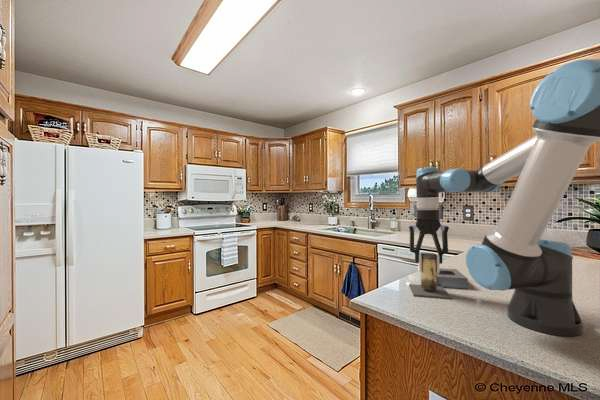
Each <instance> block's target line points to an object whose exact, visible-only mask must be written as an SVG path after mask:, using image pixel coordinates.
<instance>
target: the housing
mask: <svg viewBox="0 0 600 400" xmlns="http://www.w3.org/2000/svg"><path fill="white" fill-rule="evenodd" d="M439 271H440V273H437V272H436V278H437V286H442V287H443V288H448V289H463V290H468V289H469V285H468V283H469V281H468V280H469V279H468V277H466V276H465V275H464V274H463V273H462V272H460V271H459V270H457V268H456V269H455V268H443V267H442V268H441V267H439Z"/></svg>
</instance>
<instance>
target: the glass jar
mask: <svg viewBox="0 0 600 400" xmlns="http://www.w3.org/2000/svg"><path fill="white" fill-rule="evenodd" d="M420 254H421V267H422V272H420V285H421V287H422V288H424V289H428V290H435V289H437V278H436V254H437V253H435V252H429V251H428V252H424V251H423V252H420Z"/></svg>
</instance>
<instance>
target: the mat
mask: <svg viewBox="0 0 600 400" xmlns="http://www.w3.org/2000/svg"><path fill="white" fill-rule="evenodd" d="M408 287H409V288H410V291H411V293H412V295H413V297H420V298H431V299H444V300H452V296H451V294H449V292H448V291H447V290H446V288H445V287H442V286H437V289H435V290H428V289H424V288H422V287H421V284H414V283H409V284H408Z"/></svg>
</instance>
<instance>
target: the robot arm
mask: <svg viewBox="0 0 600 400" xmlns="http://www.w3.org/2000/svg"><path fill="white" fill-rule="evenodd" d="M529 109H531V114H532V116H533V117H534V118H535V120H534V122H533V125H532V127H531V130H532V131H533V133H534V135H533V136H531V137H530V138H528V139H526V140H525V141H523V142H521V143H520V144H517V145H516V146H514V147H513V148H511V149H510V150H507V151H506V152H505V153H502V154H501V155H500V156H498V157H497V158H495V159H493V160H491V161H489V162H488V163H486V164H485V165H482V167H480V168H477V169H474V170H468V169H466V170H465V169H464V168H449V169H445V170H440V169H439V167H436V166H427V167H420V168H418V169H417V170H416V176H415V177H416V178H415V182H416V183H415V185H416V190H415V191H416V208H417V210H416V222H415V223H414V224H412V225H411V224H410V225H408V230H409V251H410V253H413V254H414V261H415V263H417V270H418V271H417V272H419V273H421V272H422V267H421V252H420V251H421V247H422V244H423V242H424V241H423V240H424V237H425V235H431V236H432V240H433V243H434V245H435V249H436V252H437V253H435V254H436V272H437V273H440V271H439V268H440V264H443V255H446V254H448V253H449V244H448V243H449V242H448V239H449V238H448V231H449V228H450V227H449V226H447V225H443V224H441V222H440V210H439V209H440V194H441V193H481V194H482V193H483V194H484V193H485V194H486V193H492V192H495V191H497V190H498V189H499V188H500V187H501V186H502V184H503V183H504V182H507V181H509V180H511V179H513V178H515V177H517V176H519V177H518V179H517V181H516V183H515V186H514V188H513V190H512V191H511V194H510V196H509V199H508V201H507V204H506V205H505V208H504V210H503V212H502V215H501V217H500V219H499V221H498V224H497V225H496V227H495V228H494V229H490V230H488V231H487V232H486V233H485V235H484V237H483V240H482V242H481V243H479V244H475V245H471V247H469V248H468V250H467V252H466V255H465V265H466V268H467V270H468V273H469V275H470V276H471V278H472V279H473V280H474V282H475V283H477V284H478V285H479V286H481V288H484V289H486V290H489V291H490V290H491V291H501V292H502V291H503V292H504V291H507V290H514V291H513V294H512V296H511V298H510V301H509V303H508V306H507V317H508V318H509V319H510V320H511V321H513V322H514V323H516V324H518V325H520V326H523V327H525V328H527V329H530V330H534V331H537V332H539V333H544V334H549V335H555V336H560V337H561V336H562V337H577V336H578V337H579V336H580V335H582V334H583V332H584V327H583V326H584V325H583V321H582V319H581V316H580V314H579V311H578V310H577V307H576V305H575V302H574V300H573V259H574V257H573V255H572V248H571V246H570V244H568V243H566V242H565V241H564V242H562V241H558V240H548V239H542V236H543V235H544V233H545V231H546V228H547V227H548V225H549V223H550V222H551V220H552V217H553V216H554V214H555V212H556V210H557V208H558V206H559V205H560V203H561V200H563V197H564V196H565V193H566V192H567V191H568V188H569V186H570V184H571V182H572V180H573V179H574V178H575V175H576V174H577V171H578V169H579V168H580V165H581V164H582V163H583V160H584V158H585V156H586V154H587V152H588V151H589V149H590V147H591V146H592V145H594V144H595V143H599V142H600V59H599V58H597V59H596V58H595V59H594V58H593V59H589V58H588V59H587V58H585V59H584V58H583V59H578V60H573V61H570V62H568V63H567V62H566V63H565V64H563V65H561V66H559V67H557V68H556V69H554V70H553V71H551V72H549V73H548V74H547V75H546V76H545V77H544V78H543V79H542V80H540V82H539V83H538V85H537V86H536V87H535V89H534V91H533V92H532V94H531V97H530V102H529ZM439 170H440V171H439ZM416 229H417V230H418V231H419V234H418V239H417V242H416V245H415V231H416ZM439 229H440V231H441V241H442V243H441V244H440V240H439V237H438V234H437V232H438V231H439Z"/></svg>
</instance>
